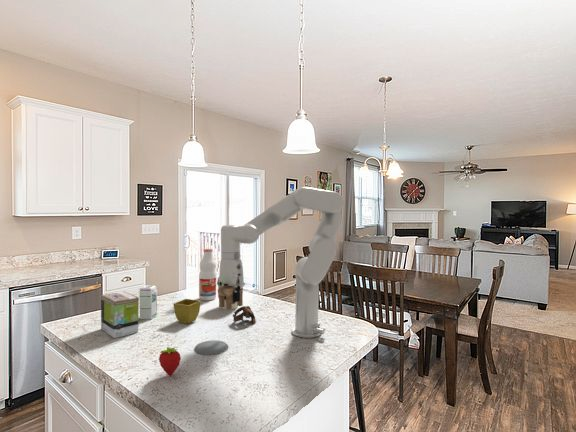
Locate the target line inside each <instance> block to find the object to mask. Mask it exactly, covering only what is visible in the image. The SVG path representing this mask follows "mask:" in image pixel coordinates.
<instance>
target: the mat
mask: <svg viewBox="0 0 576 432" xmlns="http://www.w3.org/2000/svg"><path fill="white" fill-rule="evenodd" d="M228 346H229V345H228V343H227V342H225V341H222V340H215V339H213V340H205V341H201V342H199V343H197V344H196V345H195V346H194V351H195V353H197V354H199V355H202V356H214V355H219V354H221V353H224V352H225V351H227V350H228V348H229V347H228Z"/></svg>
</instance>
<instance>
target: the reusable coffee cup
mask: <svg viewBox="0 0 576 432" xmlns="http://www.w3.org/2000/svg"><path fill="white" fill-rule="evenodd" d="M236 284H237V283H236ZM216 286H217V298H218V299H219V287H221V286H220V283H219V281H218V279H216ZM238 307H239V306H237V302H235V304H232V309H231V310H236V309H238ZM219 308H220V309H222V310H225V309H226V299H224V307H222V308H221V307H219ZM235 308H236V309H235Z"/></svg>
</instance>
